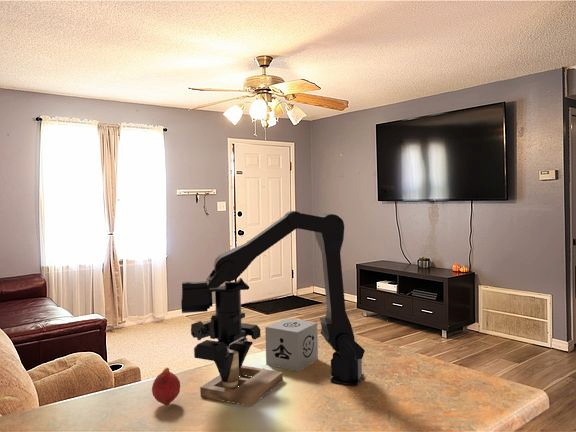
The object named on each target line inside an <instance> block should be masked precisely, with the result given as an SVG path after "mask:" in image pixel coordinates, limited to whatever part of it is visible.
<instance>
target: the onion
mask: <svg viewBox="0 0 576 432" xmlns="http://www.w3.org/2000/svg"><path fill="white" fill-rule="evenodd" d="M151 392H152V393H151V394H152V396H153V397H154V398H155V400H156V401H157V402H158V403H161V404H162V405H164V406H169V405H170V404H171V403H172V402H173V401H175V399H176V398H177V397H178V396H179V395H180V392H181V381H180V379H179V377H178V376H177V375H176V374H174V373H173V372H171V371H170V368H169V367H164V369H163V370H162V372H161V373H160V374H159V373H158V375H157V376H156V378H155V379H154V381H153V383H152V386H151Z"/></svg>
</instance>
